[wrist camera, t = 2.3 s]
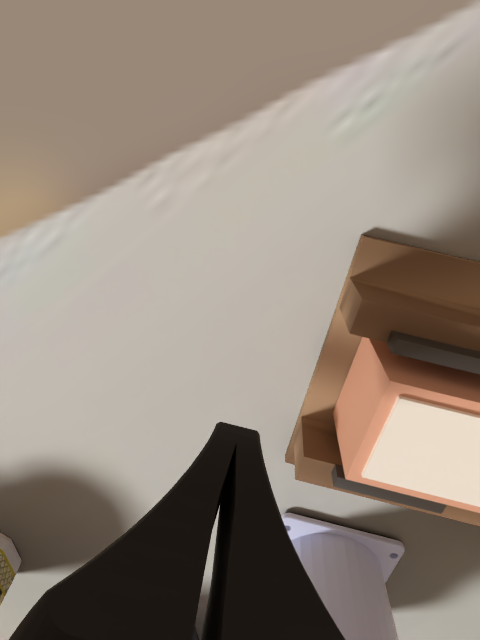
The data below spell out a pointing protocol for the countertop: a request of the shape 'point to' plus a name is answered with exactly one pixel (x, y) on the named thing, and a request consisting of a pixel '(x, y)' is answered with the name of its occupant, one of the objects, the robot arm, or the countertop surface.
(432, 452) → the block
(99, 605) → the robot arm
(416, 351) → the wooden tray
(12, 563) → the ceramic cup
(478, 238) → the countertop surface
